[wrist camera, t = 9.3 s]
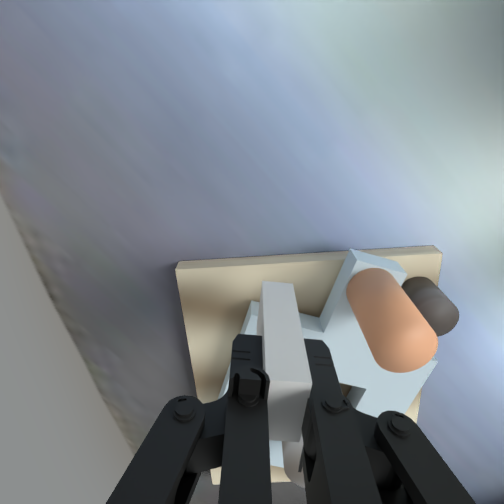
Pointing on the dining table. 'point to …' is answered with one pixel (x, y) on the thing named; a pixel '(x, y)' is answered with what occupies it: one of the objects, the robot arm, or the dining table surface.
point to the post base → (308, 302)
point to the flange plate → (351, 351)
